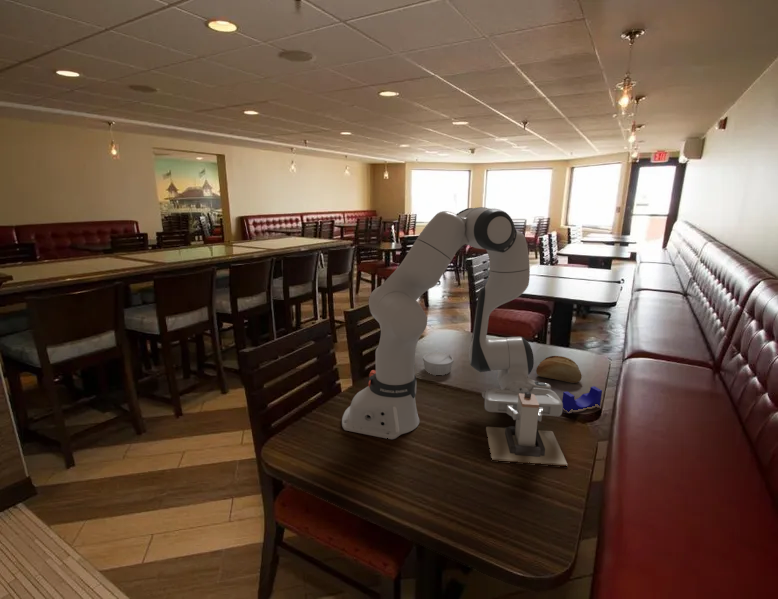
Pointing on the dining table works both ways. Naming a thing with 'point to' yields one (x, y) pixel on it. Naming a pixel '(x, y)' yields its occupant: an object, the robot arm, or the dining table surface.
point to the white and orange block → (527, 419)
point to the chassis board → (524, 447)
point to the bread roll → (559, 369)
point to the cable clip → (582, 399)
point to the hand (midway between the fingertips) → (527, 418)
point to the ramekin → (437, 363)
